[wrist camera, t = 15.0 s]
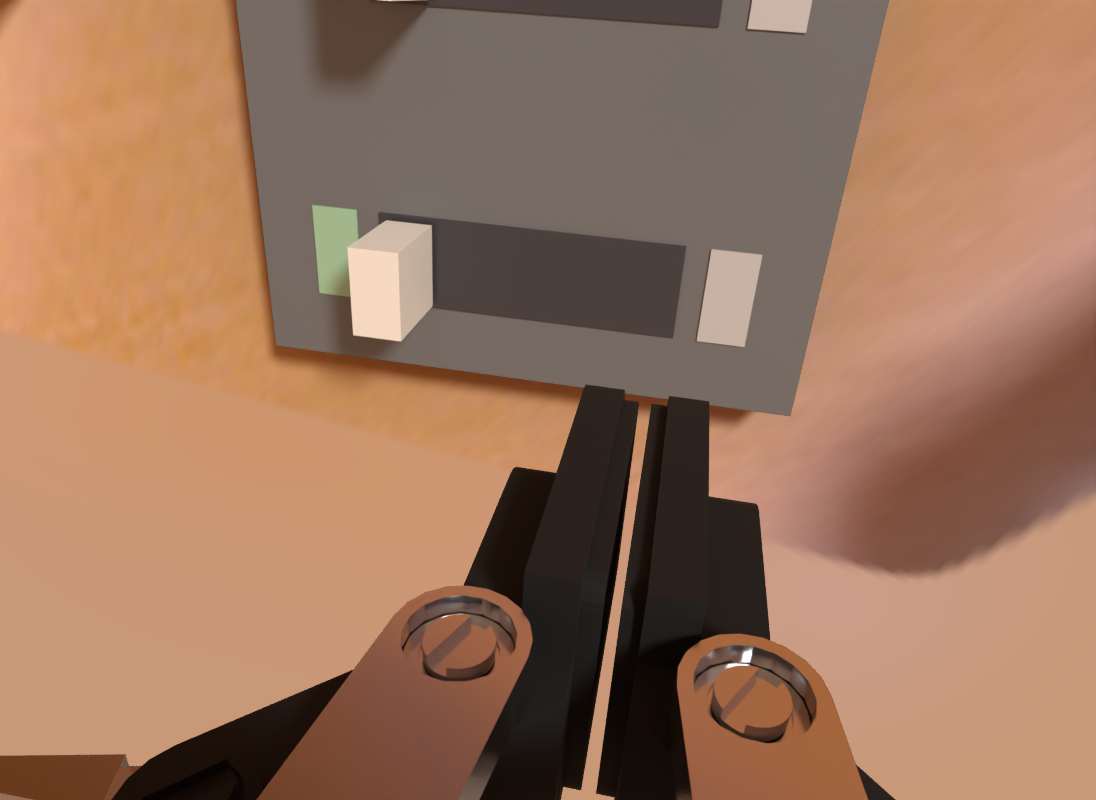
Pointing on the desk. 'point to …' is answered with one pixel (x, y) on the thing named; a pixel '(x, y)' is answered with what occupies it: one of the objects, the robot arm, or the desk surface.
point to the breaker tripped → (390, 279)
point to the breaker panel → (565, 179)
